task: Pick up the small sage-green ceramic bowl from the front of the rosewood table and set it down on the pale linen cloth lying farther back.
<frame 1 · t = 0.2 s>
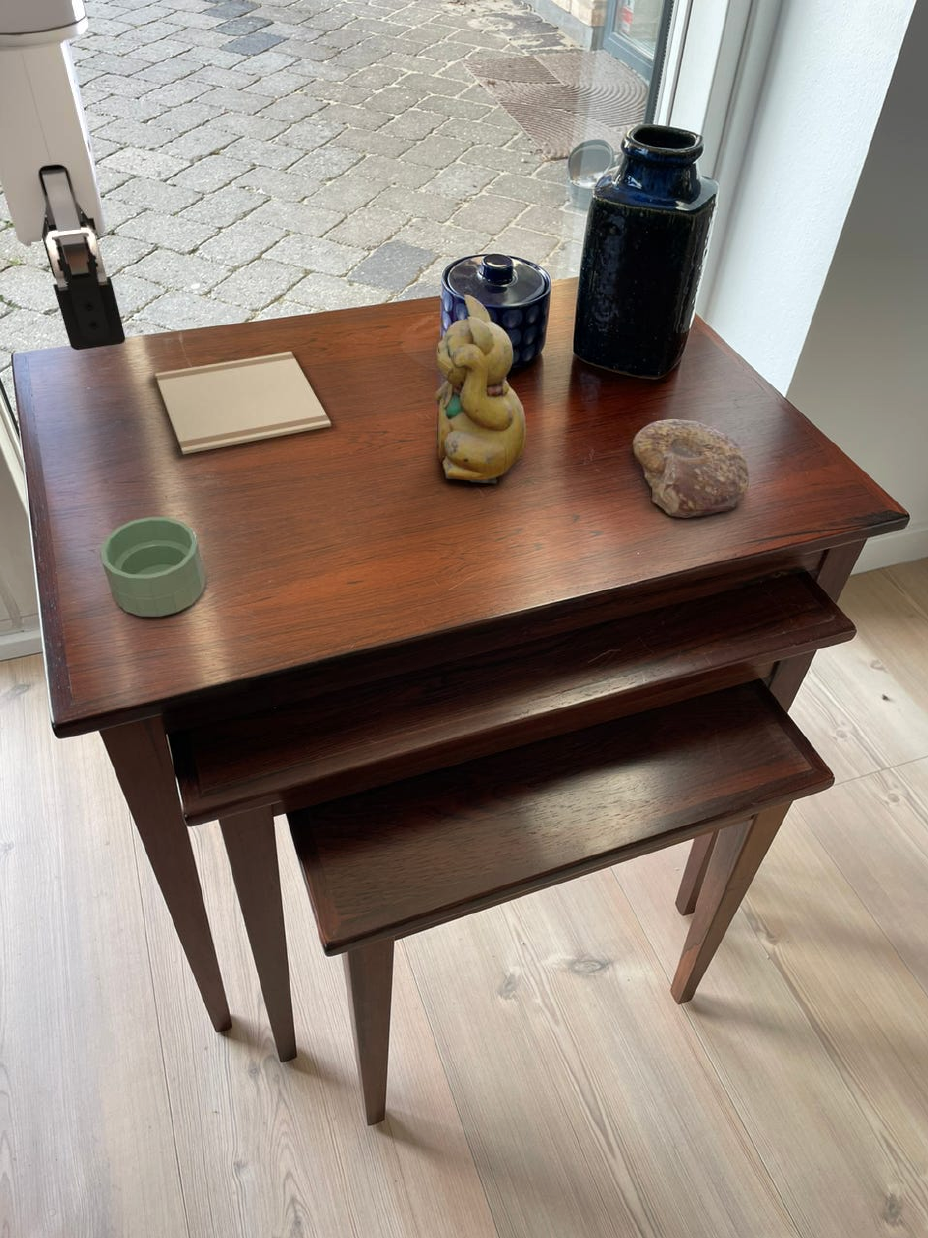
hand: (88, 308, 58), 20 cm above the table, tool pointing down, fingers open, 9 cm apart
bowl: (160, 590, 69), on the table
decorative figurine: (478, 464, 83), on the table
cloth: (241, 400, 88), on the table
fossil: (685, 483, 83), on the table
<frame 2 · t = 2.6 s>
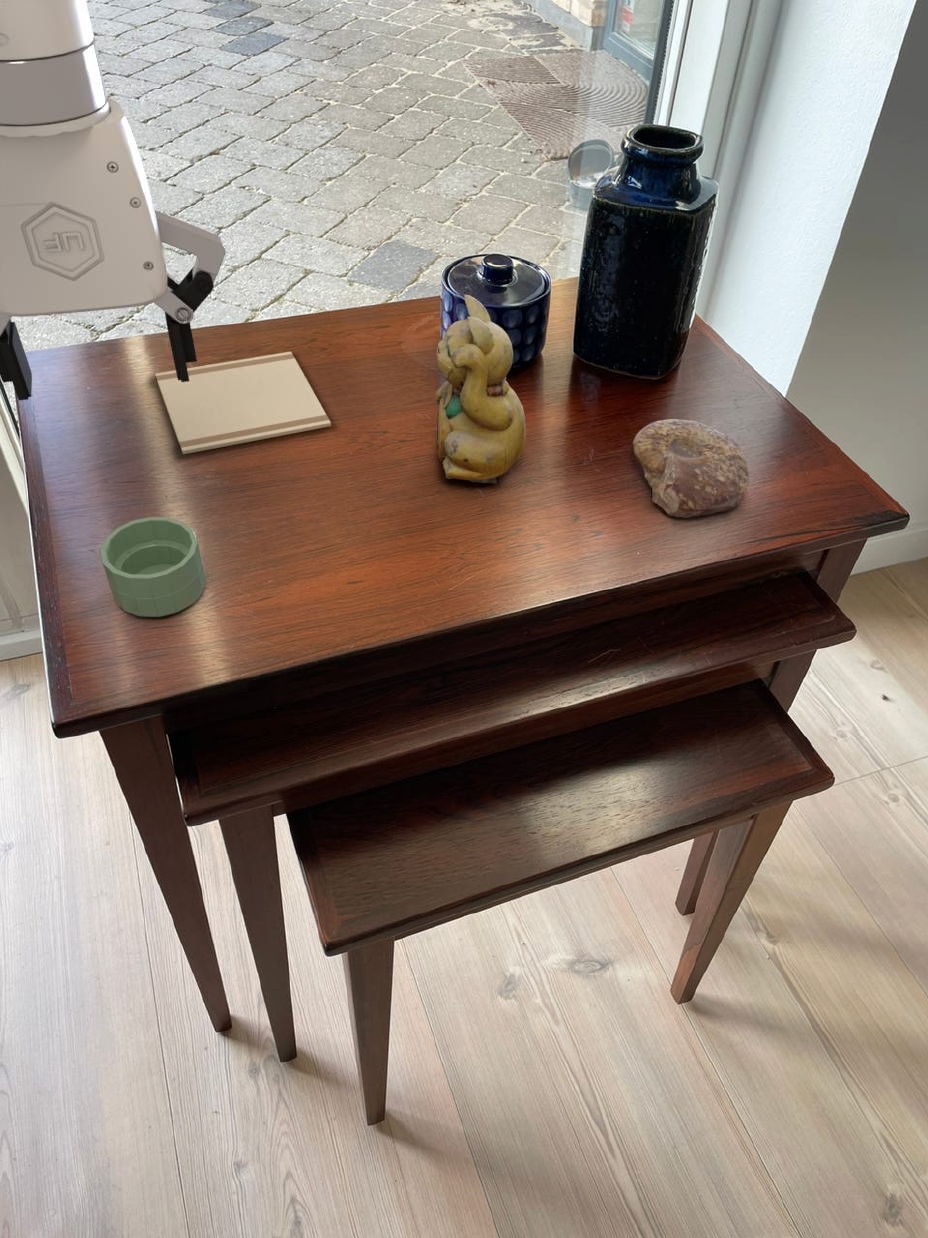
hand: (105, 379, 58), 17 cm above the table, tool pointing down, fingers open, 9 cm apart
nothing on the table moved.
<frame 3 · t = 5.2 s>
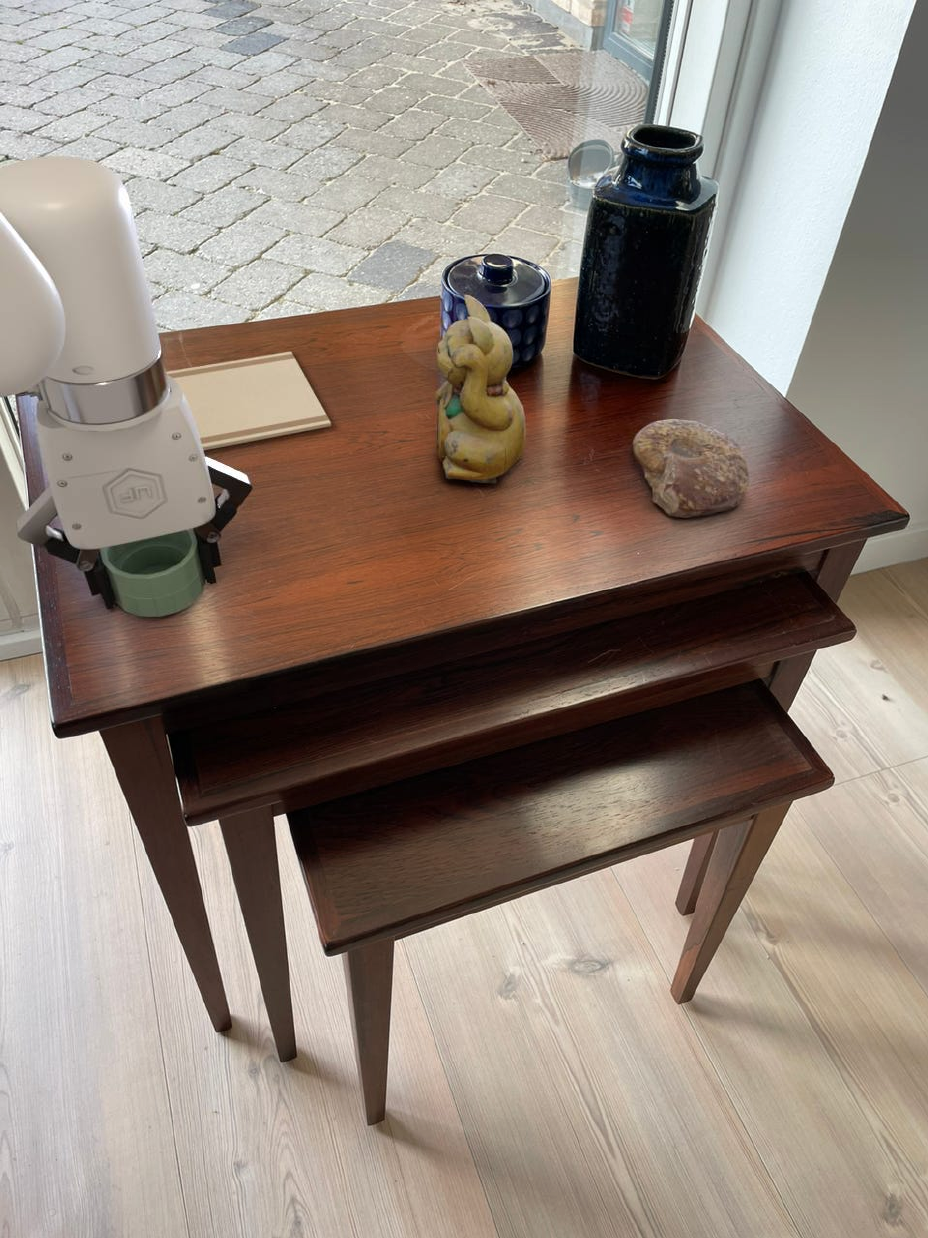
hand: (159, 582, 69), 1 cm above the table, tool pointing down, fingers closed on bowl, 6 cm apart
bowl: (160, 590, 69), on the table, touching gripper
everything else where it was.
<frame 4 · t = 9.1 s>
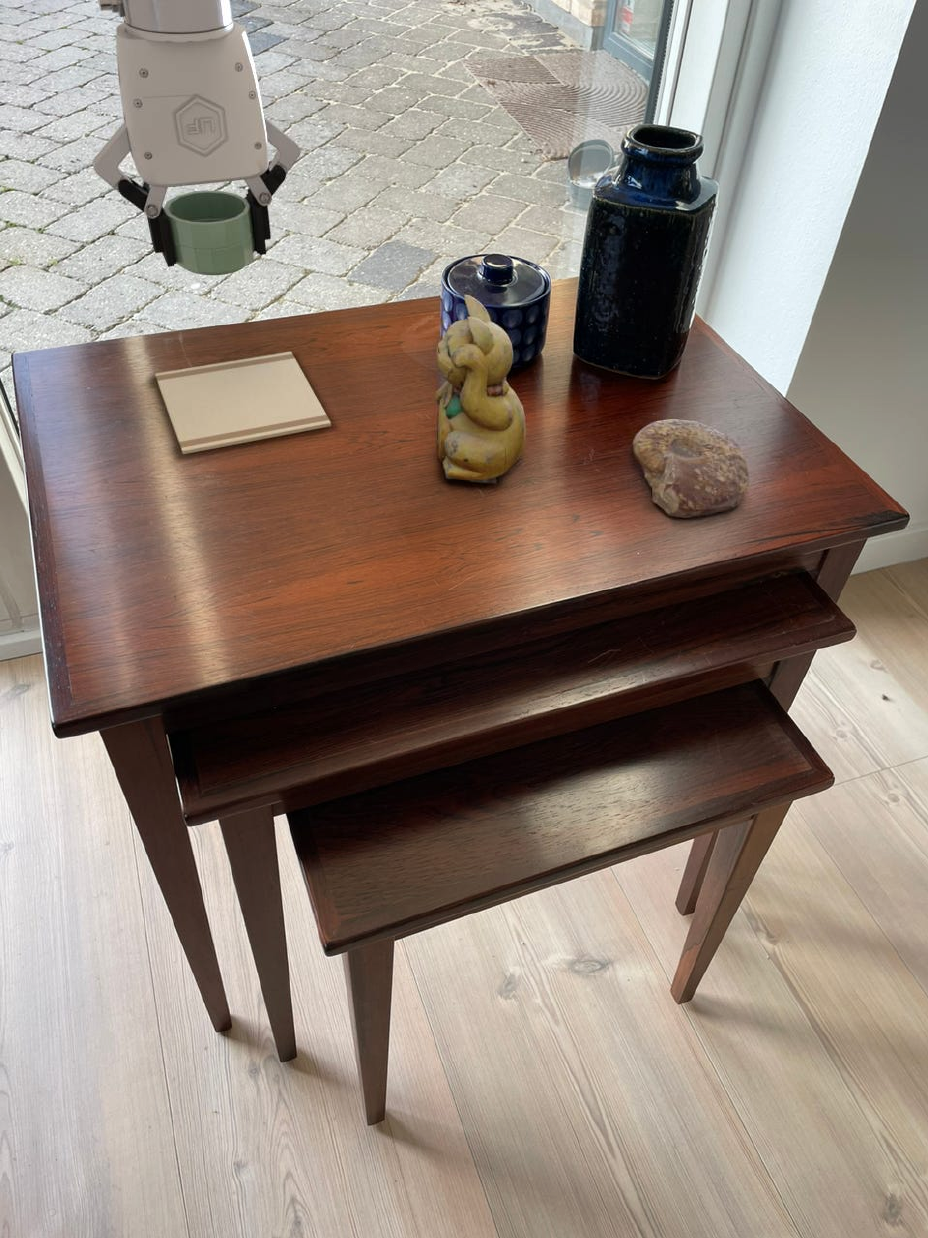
hand: (214, 252, 76), 15 cm above the table, tool pointing down, fingers closed on bowl, 6 cm apart
bowl: (215, 260, 76), point 15 cm above the table, touching gripper
everything else where it was.
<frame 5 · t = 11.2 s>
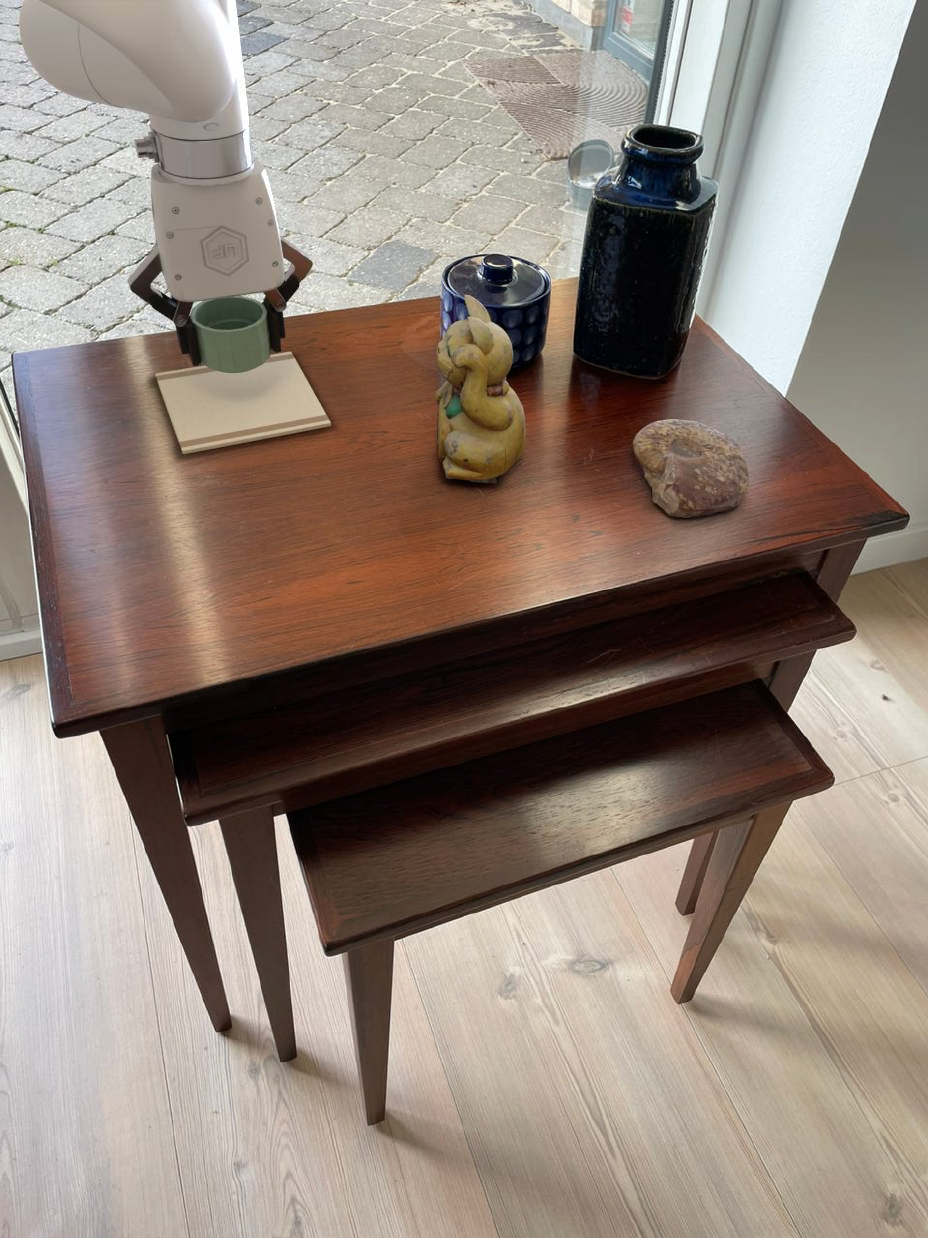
hand: (234, 350, 84), 5 cm above the table, tool pointing down, fingers closed on bowl, 6 cm apart
bowl: (235, 357, 85), point 5 cm above the table, touching gripper
everything else where it was.
when the fingers open (1 cm above the table, at t = 12.9 s): bowl stays where it is, resting on cloth.
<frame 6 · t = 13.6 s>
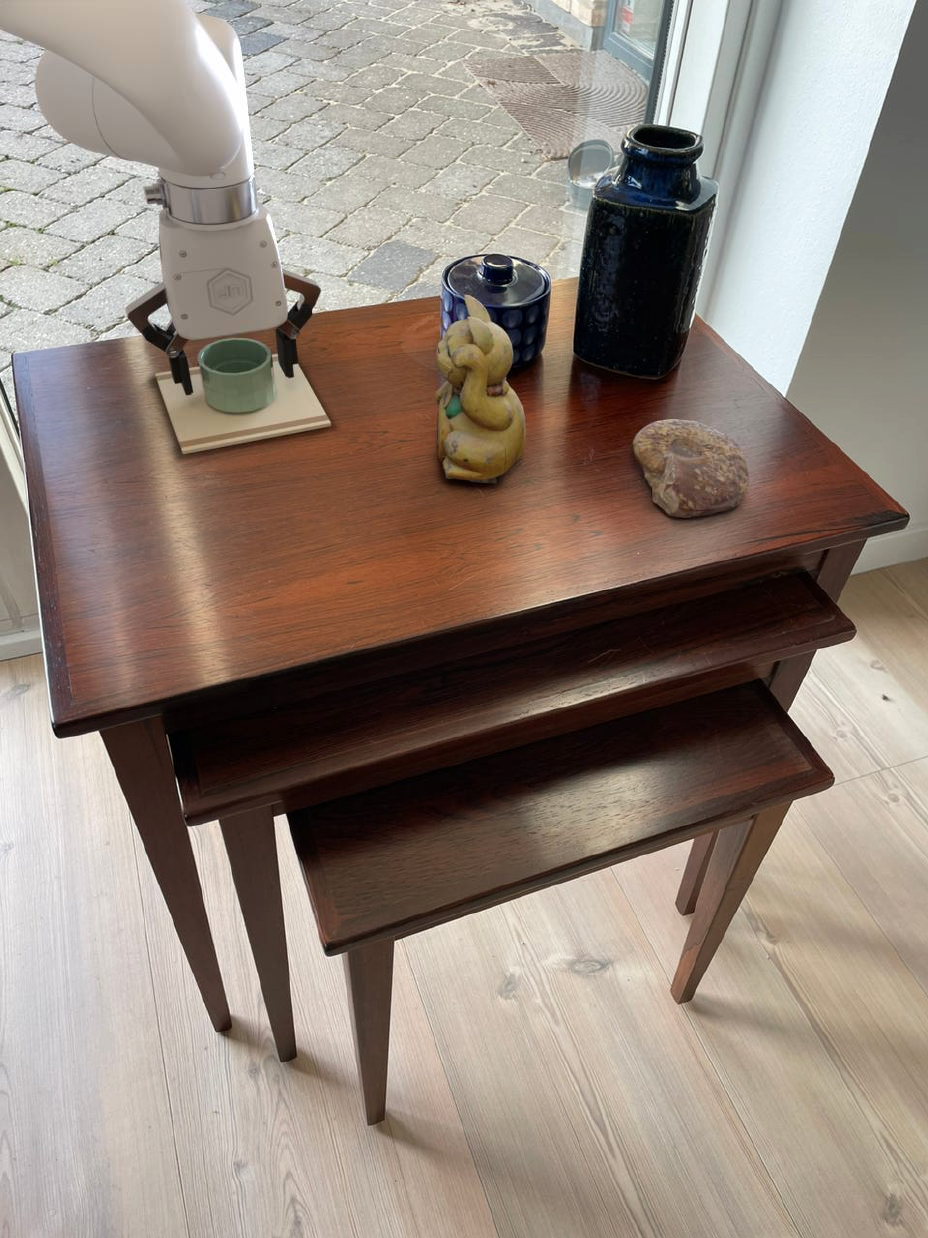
hand: (237, 379, 86), 2 cm above the table, tool pointing down, fingers open, 9 cm apart
bowl: (240, 397, 88), resting on cloth
everything else where it was.
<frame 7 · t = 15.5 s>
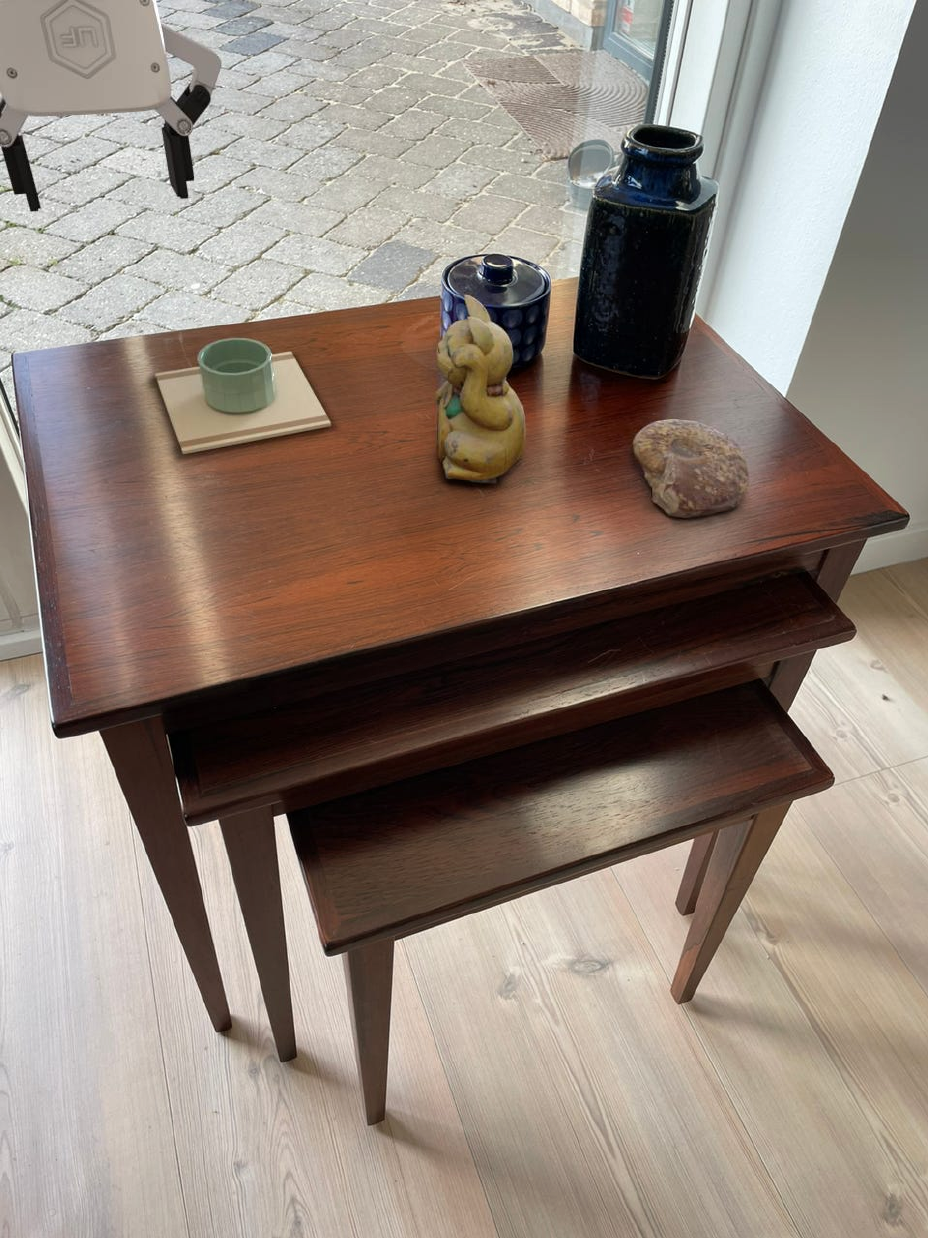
hand: (108, 197, 62), 24 cm above the table, tool pointing down, fingers open, 9 cm apart
nothing on the table moved.
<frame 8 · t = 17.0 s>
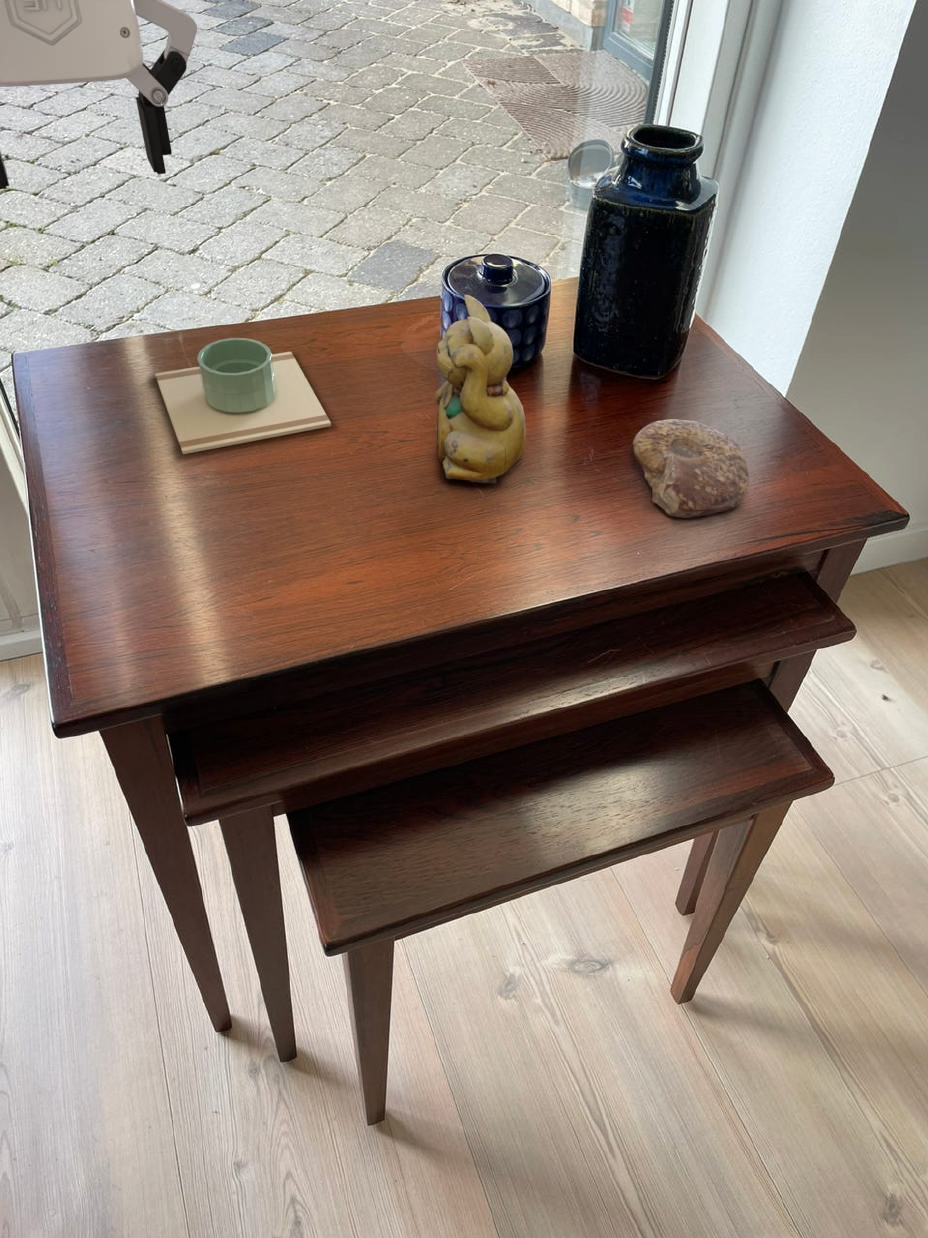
hand: (81, 173, 58), 26 cm above the table, tool pointing down, fingers open, 9 cm apart
nothing on the table moved.
at the end: bowl inside the target area on the cloth (0.0 cm from its centre), point 0.4 cm above the cloth's base; bowl tilted 0°; the gripper is holding nothing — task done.
